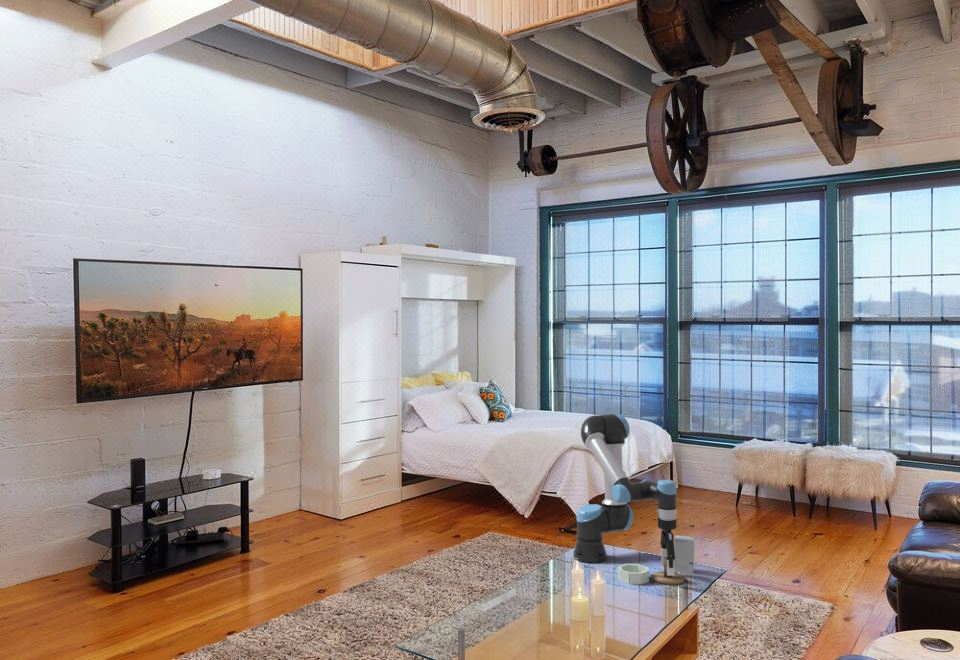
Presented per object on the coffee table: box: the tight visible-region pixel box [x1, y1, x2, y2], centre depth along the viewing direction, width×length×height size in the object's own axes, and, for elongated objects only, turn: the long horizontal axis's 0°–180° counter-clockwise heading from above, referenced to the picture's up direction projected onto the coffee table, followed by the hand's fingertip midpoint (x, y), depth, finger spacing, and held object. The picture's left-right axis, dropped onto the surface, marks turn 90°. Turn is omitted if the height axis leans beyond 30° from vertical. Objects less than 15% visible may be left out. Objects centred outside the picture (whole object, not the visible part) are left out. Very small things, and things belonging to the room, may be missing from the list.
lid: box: [651, 556, 685, 586], centre depth 297 cm, size 13×13×9 cm
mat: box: [649, 573, 688, 587], centre depth 297 cm, size 13×13×1 cm
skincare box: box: [673, 534, 695, 574], centre depth 308 cm, size 8×6×15 cm
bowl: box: [617, 563, 650, 585], centre depth 298 cm, size 12×12×5 cm
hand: (667, 569), depth 297 cm, fingers open, 13 cm apart
